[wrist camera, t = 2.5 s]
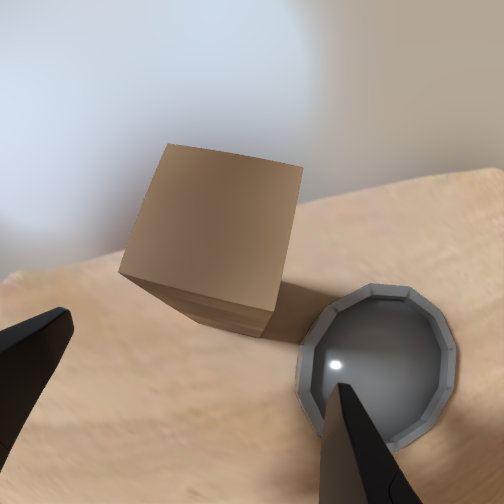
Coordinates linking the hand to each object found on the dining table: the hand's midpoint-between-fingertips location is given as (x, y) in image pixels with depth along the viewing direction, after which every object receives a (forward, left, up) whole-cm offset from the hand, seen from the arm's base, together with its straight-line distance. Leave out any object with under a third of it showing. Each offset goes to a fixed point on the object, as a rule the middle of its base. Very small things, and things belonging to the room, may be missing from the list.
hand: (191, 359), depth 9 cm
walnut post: (+1, -3, -11) cm, 11 cm away
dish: (-9, -5, -11) cm, 15 cm away
